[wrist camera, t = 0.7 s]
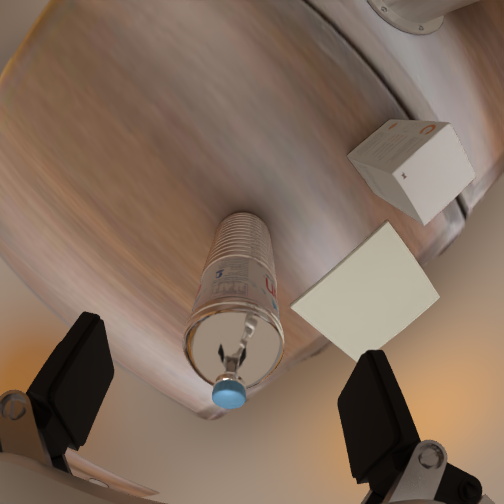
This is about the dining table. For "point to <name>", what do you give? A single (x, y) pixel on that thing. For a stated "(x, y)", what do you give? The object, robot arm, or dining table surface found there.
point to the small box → (414, 166)
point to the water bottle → (236, 312)
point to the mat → (368, 295)
